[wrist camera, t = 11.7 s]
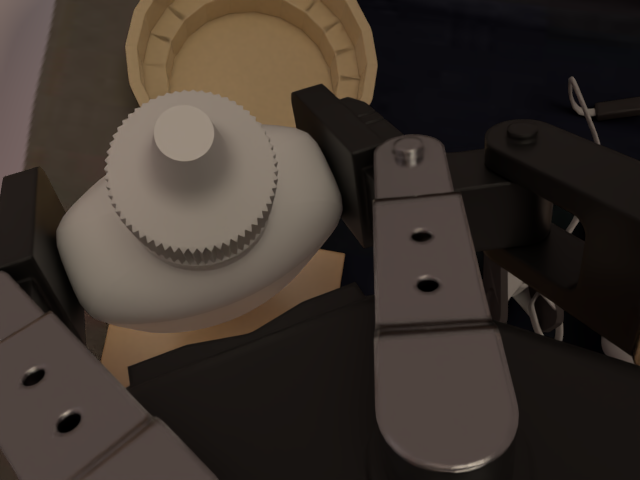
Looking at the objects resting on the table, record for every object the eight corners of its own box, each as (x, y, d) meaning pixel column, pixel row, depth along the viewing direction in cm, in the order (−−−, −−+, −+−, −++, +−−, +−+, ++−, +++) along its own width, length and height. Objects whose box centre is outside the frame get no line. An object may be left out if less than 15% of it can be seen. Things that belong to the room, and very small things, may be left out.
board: (136, 217, 33) (133, 214, 32) (342, 255, 34) (345, 253, 33) (49, 600, 29) (43, 609, 28) (284, 626, 31) (286, 635, 30)
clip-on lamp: (500, 95, 41) (454, 335, 33) (542, 30, 35) (498, 301, 28) (661, 145, 41) (651, 396, 33) (729, 87, 35) (736, 376, 28)
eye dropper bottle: (298, 344, 18) (407, 340, 7) (116, 329, 18) (-116, 296, 6) (309, 211, 19) (423, 1, 8) (135, 192, 19) (-34, -71, 7)
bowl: (165, -31, 36) (156, -83, 31) (373, 17, 37) (392, -26, 33) (117, 172, 33) (99, 147, 29) (342, 215, 35) (357, 197, 30)
